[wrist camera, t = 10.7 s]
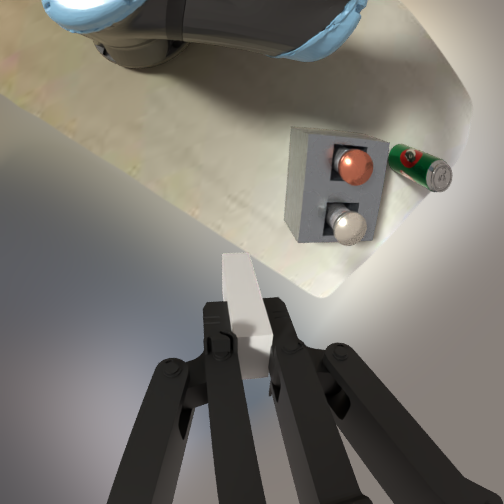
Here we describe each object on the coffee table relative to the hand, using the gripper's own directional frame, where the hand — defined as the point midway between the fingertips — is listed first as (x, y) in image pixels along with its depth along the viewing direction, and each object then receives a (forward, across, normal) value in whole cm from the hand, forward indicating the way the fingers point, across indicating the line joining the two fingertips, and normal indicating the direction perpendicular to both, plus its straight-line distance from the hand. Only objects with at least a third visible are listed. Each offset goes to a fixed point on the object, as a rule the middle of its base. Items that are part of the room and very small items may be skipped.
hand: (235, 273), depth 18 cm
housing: (+29, +17, -2) cm, 34 cm away
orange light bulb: (+27, +17, +2) cm, 32 cm away
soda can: (+30, +31, +2) cm, 43 cm away
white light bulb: (+26, +17, -6) cm, 32 cm away
